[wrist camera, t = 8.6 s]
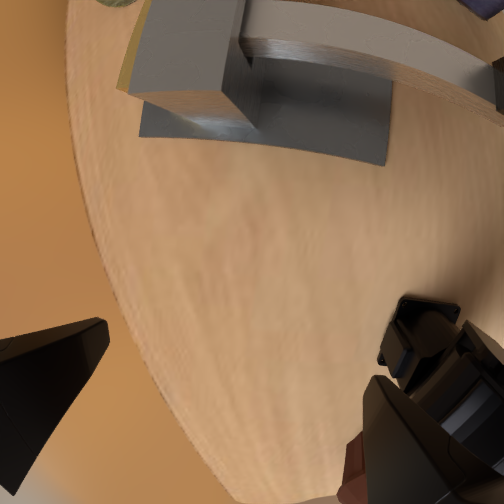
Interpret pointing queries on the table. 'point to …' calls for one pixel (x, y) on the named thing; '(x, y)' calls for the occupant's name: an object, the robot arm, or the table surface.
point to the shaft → (373, 51)
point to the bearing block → (250, 88)
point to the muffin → (354, 474)
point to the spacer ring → (132, 50)
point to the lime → (115, 2)
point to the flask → (483, 7)
